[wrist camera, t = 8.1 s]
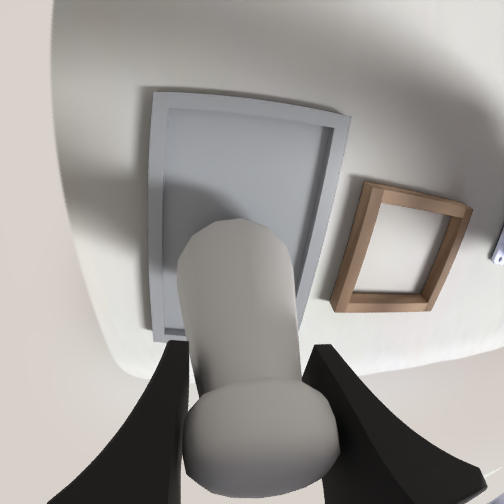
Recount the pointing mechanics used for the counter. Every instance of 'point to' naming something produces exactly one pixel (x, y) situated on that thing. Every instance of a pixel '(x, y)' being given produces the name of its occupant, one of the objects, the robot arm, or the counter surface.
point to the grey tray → (237, 183)
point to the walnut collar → (361, 237)
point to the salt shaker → (248, 368)
